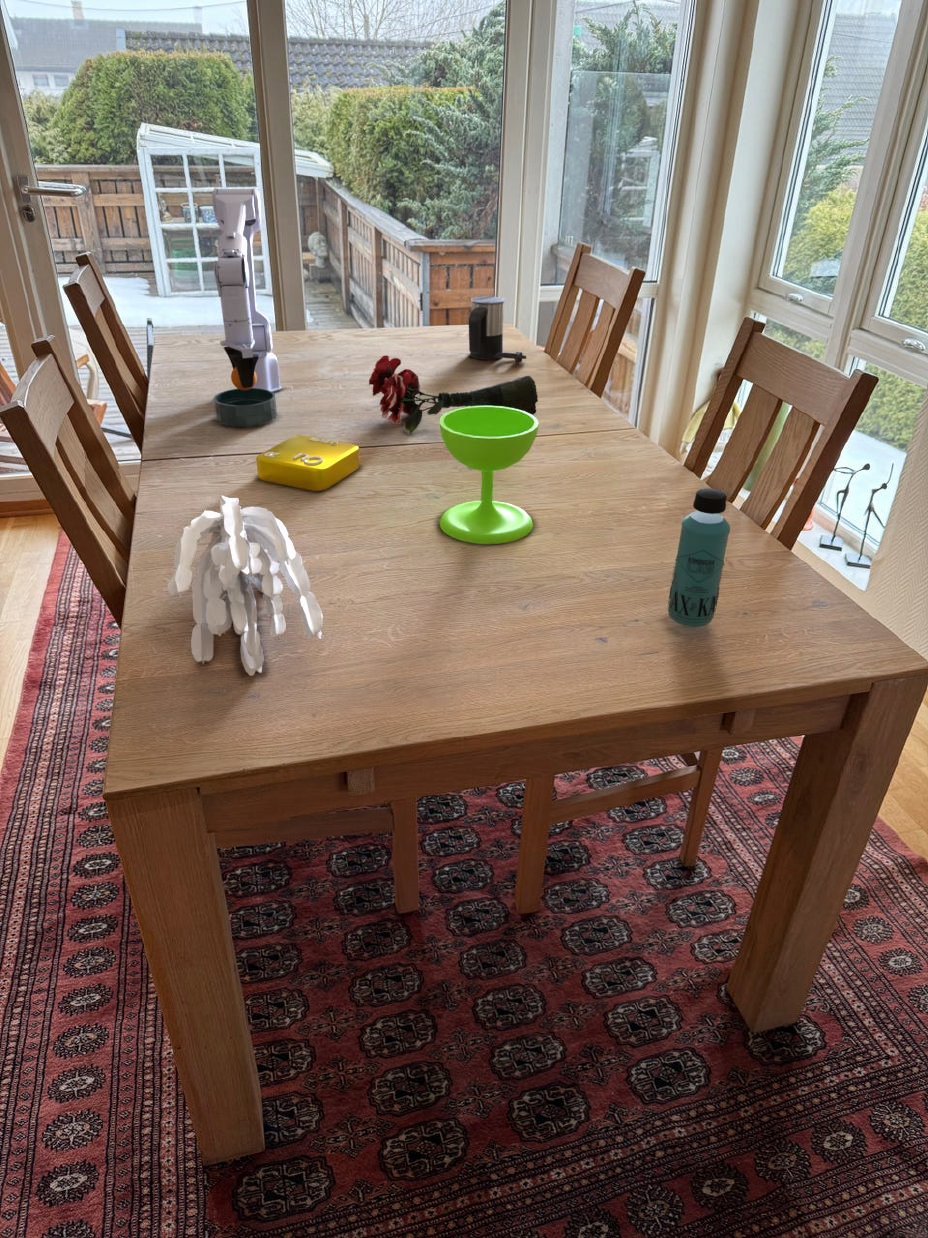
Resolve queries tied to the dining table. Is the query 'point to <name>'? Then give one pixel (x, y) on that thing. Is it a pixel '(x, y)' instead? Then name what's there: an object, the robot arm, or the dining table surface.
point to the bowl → (245, 407)
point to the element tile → (308, 462)
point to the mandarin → (237, 382)
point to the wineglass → (487, 470)
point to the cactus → (241, 579)
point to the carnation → (442, 394)
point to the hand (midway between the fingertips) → (244, 383)
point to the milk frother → (488, 329)
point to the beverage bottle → (699, 560)
